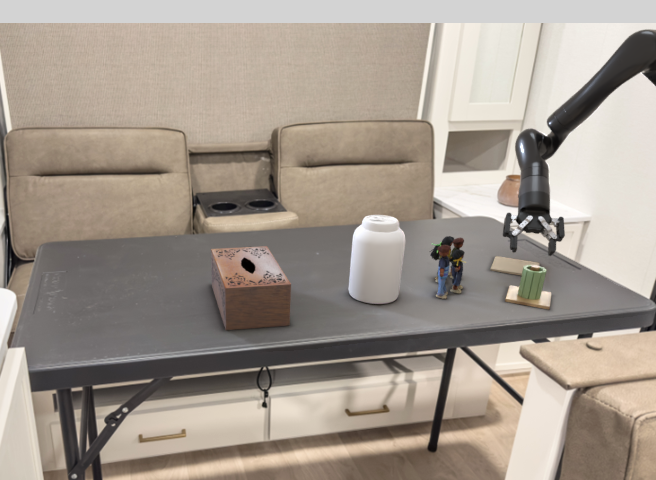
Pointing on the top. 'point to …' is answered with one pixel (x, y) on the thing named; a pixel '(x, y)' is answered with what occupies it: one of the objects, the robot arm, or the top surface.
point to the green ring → (531, 283)
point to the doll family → (445, 257)
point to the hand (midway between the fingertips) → (532, 252)
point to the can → (377, 260)
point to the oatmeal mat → (510, 265)
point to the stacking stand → (539, 303)
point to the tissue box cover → (250, 288)
